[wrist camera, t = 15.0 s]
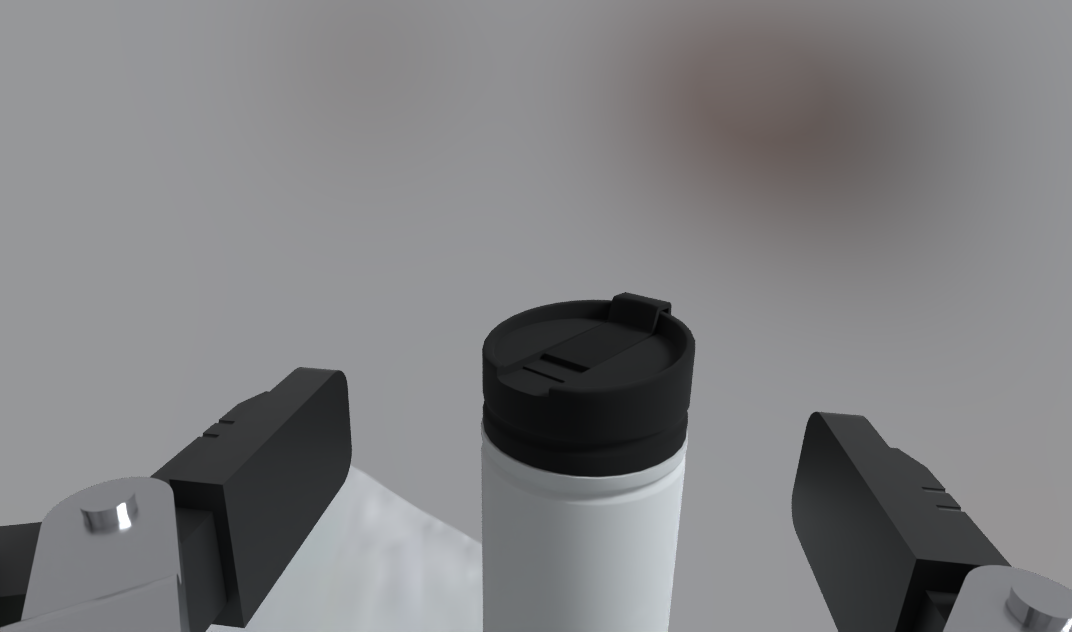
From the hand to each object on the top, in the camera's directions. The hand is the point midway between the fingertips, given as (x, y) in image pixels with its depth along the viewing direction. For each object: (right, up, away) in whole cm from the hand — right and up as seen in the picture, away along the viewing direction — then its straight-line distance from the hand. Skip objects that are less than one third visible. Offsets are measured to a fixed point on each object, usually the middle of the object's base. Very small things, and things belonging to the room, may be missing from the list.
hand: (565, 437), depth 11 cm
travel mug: (+1, -17, +14) cm, 22 cm away
